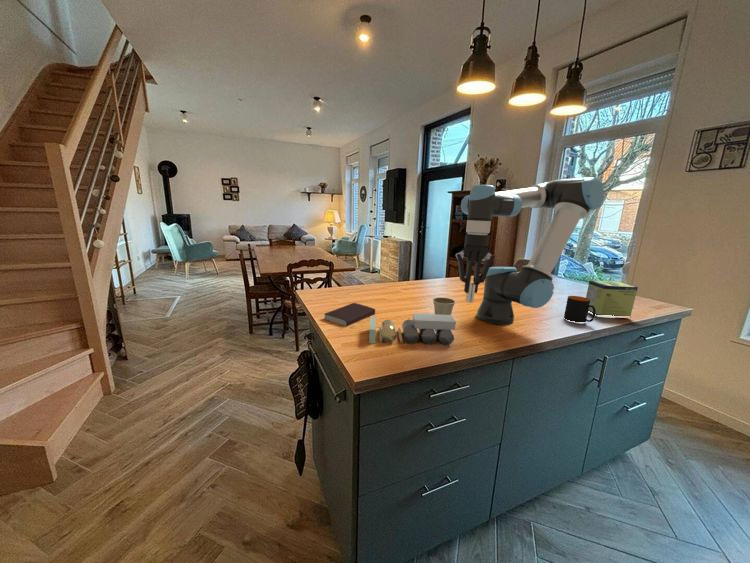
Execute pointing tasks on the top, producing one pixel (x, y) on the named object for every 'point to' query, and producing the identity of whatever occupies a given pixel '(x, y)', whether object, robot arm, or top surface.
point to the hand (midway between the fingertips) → (469, 301)
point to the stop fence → (372, 329)
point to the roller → (388, 331)
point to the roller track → (422, 334)
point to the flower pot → (443, 305)
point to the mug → (578, 309)
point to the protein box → (611, 297)
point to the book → (349, 314)
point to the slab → (433, 321)
